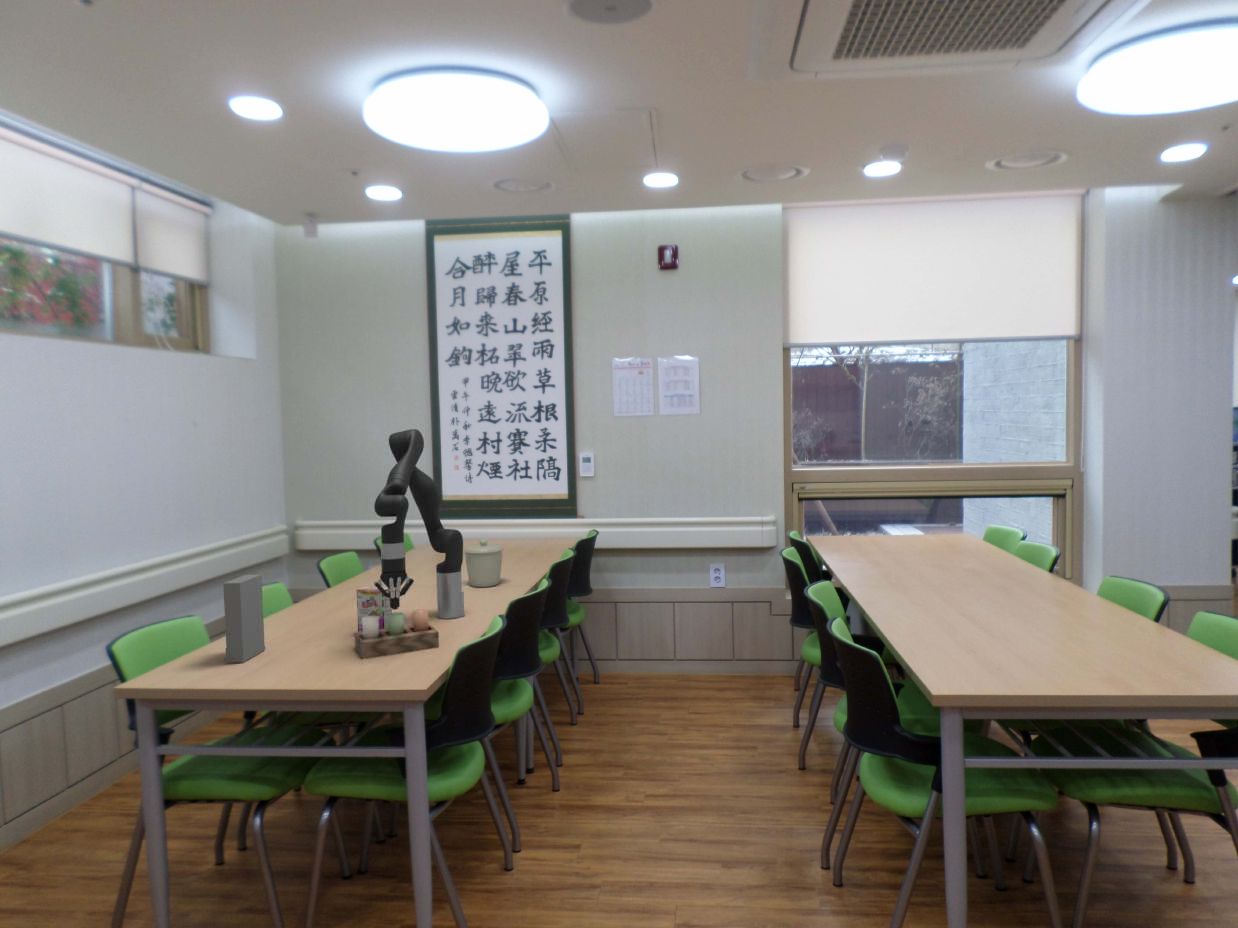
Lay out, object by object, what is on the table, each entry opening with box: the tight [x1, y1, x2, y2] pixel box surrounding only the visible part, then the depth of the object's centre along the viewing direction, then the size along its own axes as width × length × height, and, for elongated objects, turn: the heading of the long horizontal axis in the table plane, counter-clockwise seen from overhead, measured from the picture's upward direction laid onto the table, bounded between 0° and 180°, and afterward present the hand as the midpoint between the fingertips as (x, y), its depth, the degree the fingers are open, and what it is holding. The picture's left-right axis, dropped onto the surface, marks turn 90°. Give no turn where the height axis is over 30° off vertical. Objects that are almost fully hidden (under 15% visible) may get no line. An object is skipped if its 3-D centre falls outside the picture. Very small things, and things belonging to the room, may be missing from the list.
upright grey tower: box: [223, 574, 266, 664], centre depth 246 cm, size 14×6×25 cm, turn 178°
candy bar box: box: [356, 586, 393, 632], centre depth 269 cm, size 11×5×16 cm, turn 71°
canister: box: [463, 538, 505, 588], centre depth 351 cm, size 18×18×21 cm
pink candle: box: [412, 608, 429, 632], centre depth 257 cm, size 5×5×7 cm
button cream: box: [362, 616, 379, 640], centre depth 249 cm, size 5×5×7 cm
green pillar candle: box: [388, 611, 405, 636], centre depth 253 cm, size 5×5×7 cm
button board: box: [353, 623, 440, 659], centre depth 253 cm, size 24×14×5 cm, turn 118°
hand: (394, 608), depth 253 cm, fingers closed
